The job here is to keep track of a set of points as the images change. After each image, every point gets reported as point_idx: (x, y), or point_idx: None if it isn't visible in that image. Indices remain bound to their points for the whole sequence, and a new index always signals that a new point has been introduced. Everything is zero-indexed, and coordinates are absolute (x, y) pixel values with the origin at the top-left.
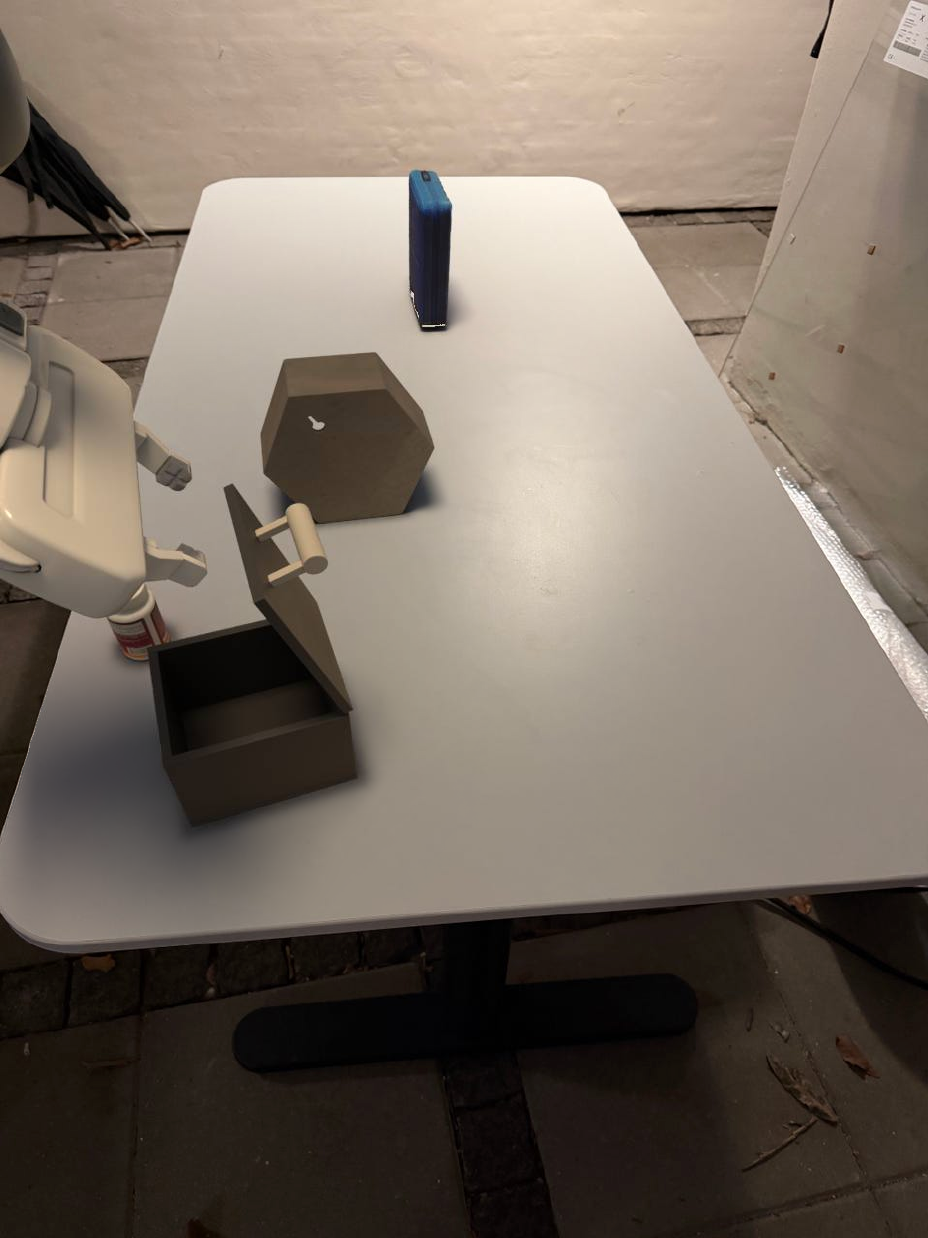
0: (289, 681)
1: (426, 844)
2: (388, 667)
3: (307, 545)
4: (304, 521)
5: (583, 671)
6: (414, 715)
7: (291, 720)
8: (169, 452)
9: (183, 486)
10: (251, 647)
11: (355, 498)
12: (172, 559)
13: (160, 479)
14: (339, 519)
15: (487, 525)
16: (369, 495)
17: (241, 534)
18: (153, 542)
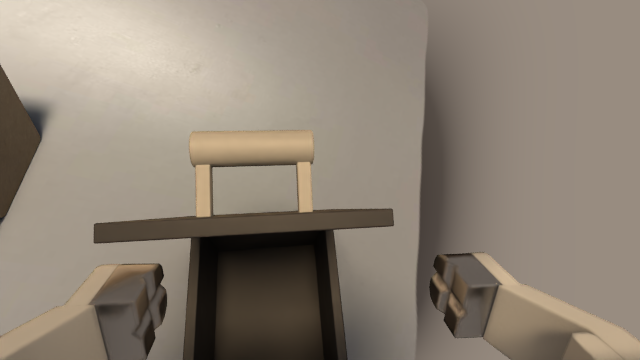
0: (216, 275)
1: (378, 206)
2: (224, 194)
3: (289, 142)
4: (237, 136)
5: (275, 77)
6: (276, 188)
7: (256, 280)
8: (75, 305)
9: (165, 293)
10: (203, 297)
11: (1, 166)
12: (567, 303)
13: (146, 346)
14: (13, 194)
15: (99, 80)
16: (7, 152)
17: (243, 224)
18: (586, 342)
